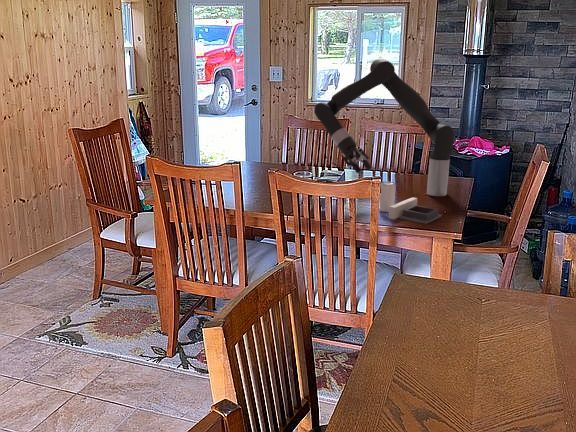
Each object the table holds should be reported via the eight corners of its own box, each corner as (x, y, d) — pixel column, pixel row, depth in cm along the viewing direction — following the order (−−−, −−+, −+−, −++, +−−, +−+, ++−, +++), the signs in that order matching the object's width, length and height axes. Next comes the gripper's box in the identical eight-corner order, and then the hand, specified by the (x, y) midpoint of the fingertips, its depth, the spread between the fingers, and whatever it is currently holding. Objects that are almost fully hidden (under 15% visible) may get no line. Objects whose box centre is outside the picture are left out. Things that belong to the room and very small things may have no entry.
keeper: (415, 211, 245) (415, 203, 244) (441, 216, 237) (442, 208, 236) (399, 218, 234) (399, 210, 233) (426, 224, 227) (426, 216, 226)
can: (393, 212, 242) (395, 185, 238) (378, 211, 243) (379, 184, 240) (394, 208, 248) (395, 181, 244) (378, 207, 249) (380, 180, 246)
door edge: (411, 208, 249) (412, 197, 247) (416, 209, 247) (417, 198, 246) (388, 218, 234) (389, 206, 232) (393, 219, 232) (394, 207, 231)
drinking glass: (336, 208, 248) (337, 180, 244) (327, 213, 239) (328, 185, 236) (315, 204, 252) (316, 178, 249) (305, 210, 244) (306, 182, 240)
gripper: (339, 137, 244) (361, 167, 240) (357, 133, 255) (378, 162, 251) (329, 148, 249) (350, 178, 245) (347, 144, 259) (367, 173, 256)
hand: (364, 170), depth 248 cm, fingers open, 8 cm apart
